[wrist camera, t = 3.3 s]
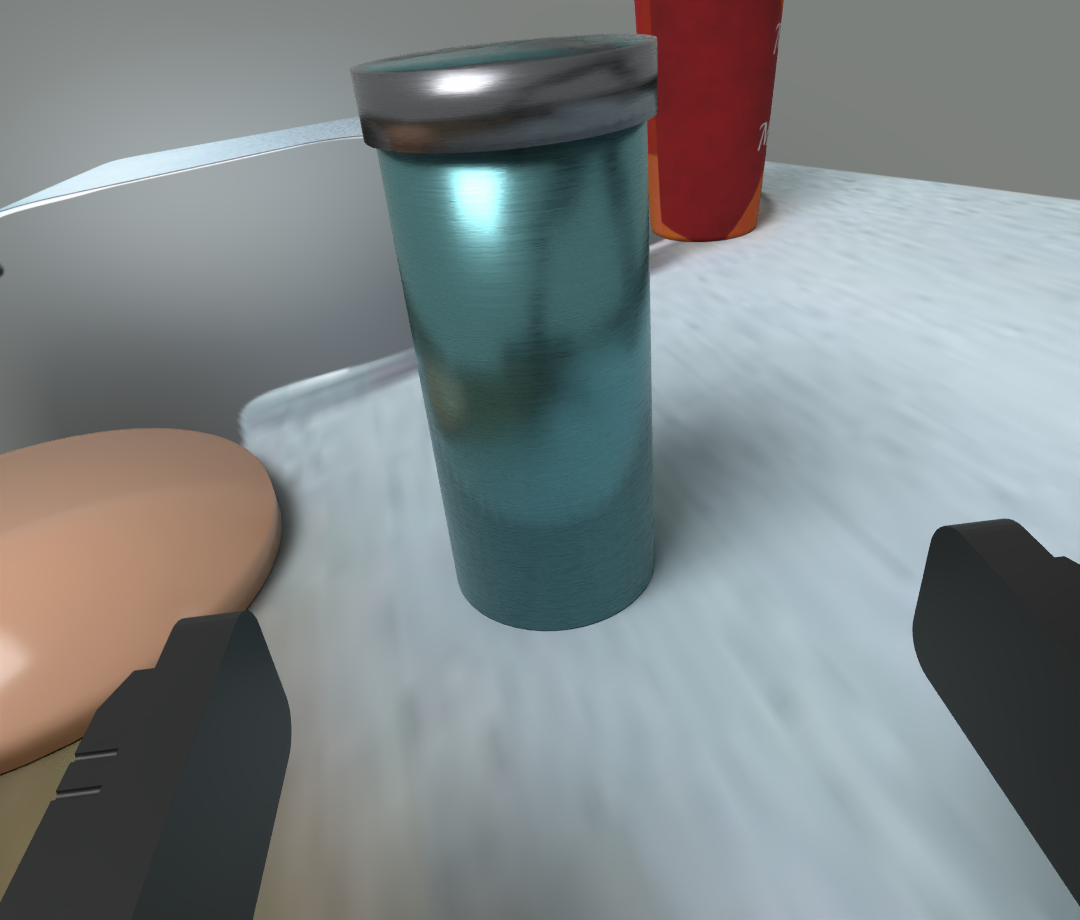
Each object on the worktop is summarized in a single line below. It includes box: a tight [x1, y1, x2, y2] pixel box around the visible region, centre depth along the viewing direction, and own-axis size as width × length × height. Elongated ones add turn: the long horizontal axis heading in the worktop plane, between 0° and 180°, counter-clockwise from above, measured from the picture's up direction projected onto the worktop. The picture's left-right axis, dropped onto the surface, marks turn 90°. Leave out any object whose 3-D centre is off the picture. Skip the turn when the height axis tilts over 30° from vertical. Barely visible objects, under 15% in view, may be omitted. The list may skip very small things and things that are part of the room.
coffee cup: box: [634, 0, 784, 242], centre depth 41 cm, size 8×8×15 cm
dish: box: [0, 428, 282, 774], centre depth 22 cm, size 14×14×1 cm
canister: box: [350, 34, 658, 631], centre depth 18 cm, size 6×6×12 cm
